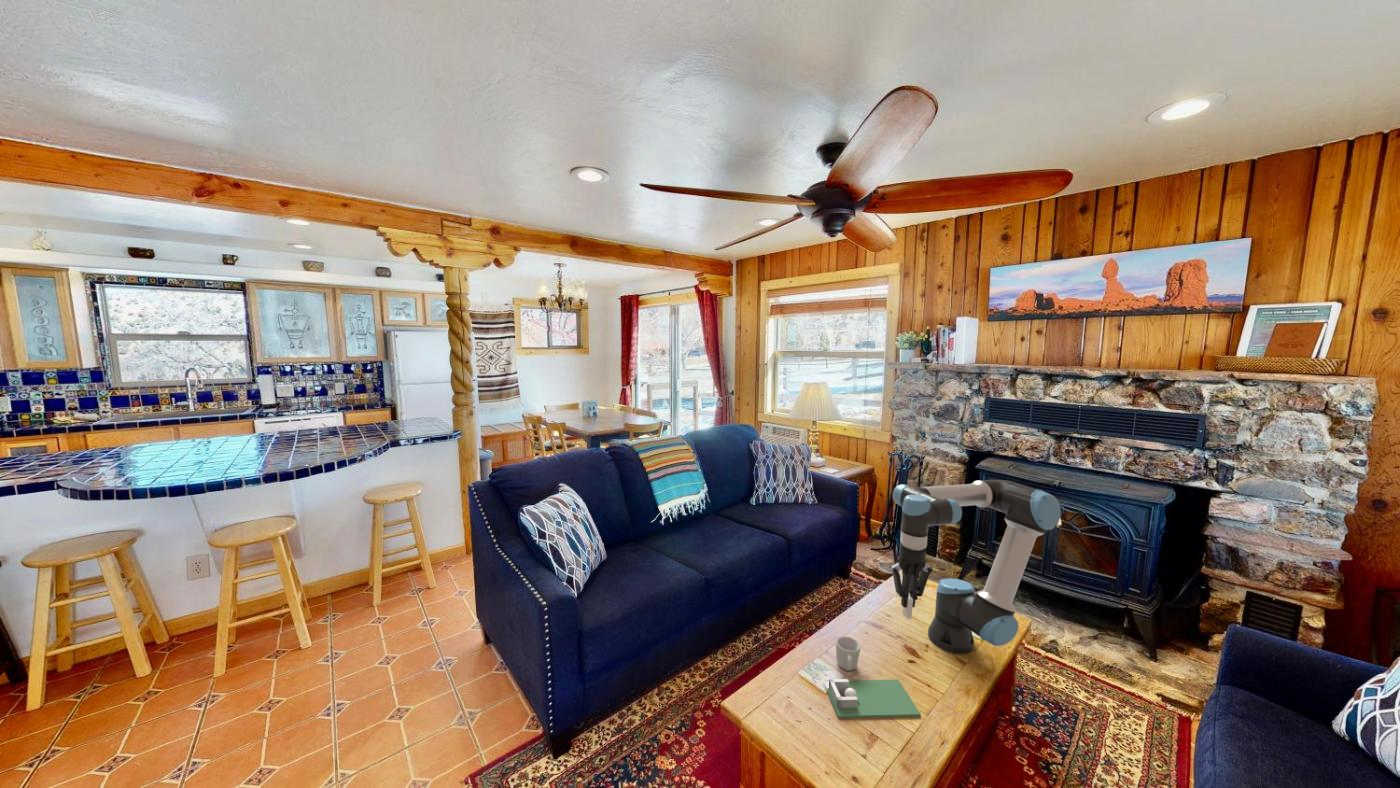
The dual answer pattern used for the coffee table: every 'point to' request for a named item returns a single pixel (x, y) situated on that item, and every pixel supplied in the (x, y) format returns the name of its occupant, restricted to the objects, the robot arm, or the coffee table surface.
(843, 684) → the white u-shaped bracket
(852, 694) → the ball
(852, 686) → the green mat
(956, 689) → the coffee table surface
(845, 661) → the cup
